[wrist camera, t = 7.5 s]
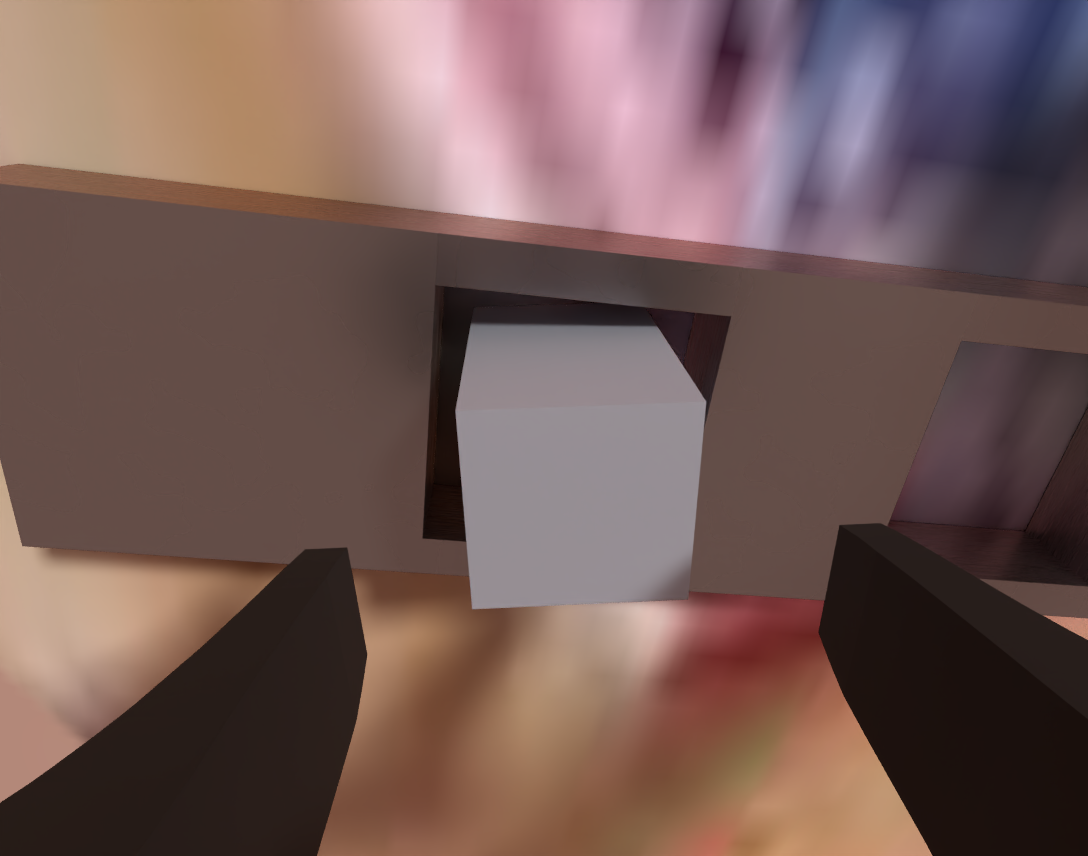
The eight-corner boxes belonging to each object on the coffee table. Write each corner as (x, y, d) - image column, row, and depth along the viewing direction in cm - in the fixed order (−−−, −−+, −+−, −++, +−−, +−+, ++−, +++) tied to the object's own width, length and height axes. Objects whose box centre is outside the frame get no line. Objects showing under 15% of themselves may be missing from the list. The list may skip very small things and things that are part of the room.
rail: (1218, 302, 17) (1328, 333, 15) (1073, 564, 20) (1144, 622, 18) (19, 163, 14) (-72, 175, 12) (84, 489, 18) (22, 546, 15)
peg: (641, 301, 16) (706, 401, 11) (634, 449, 18) (688, 599, 13) (473, 307, 16) (455, 410, 11) (483, 455, 18) (472, 609, 12)
